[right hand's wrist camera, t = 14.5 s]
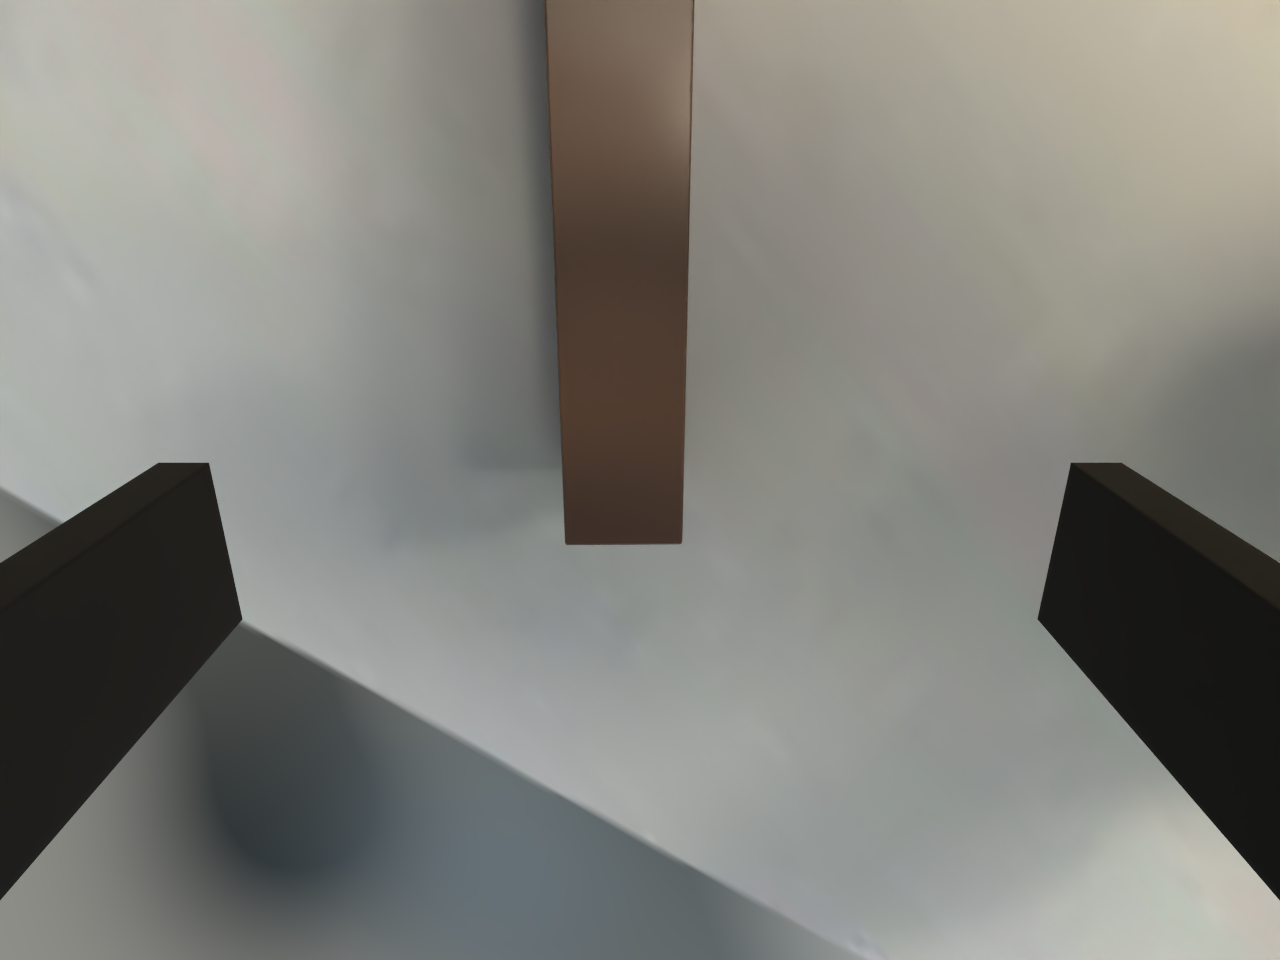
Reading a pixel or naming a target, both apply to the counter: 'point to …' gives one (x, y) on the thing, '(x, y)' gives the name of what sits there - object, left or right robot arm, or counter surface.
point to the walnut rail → (621, 260)
